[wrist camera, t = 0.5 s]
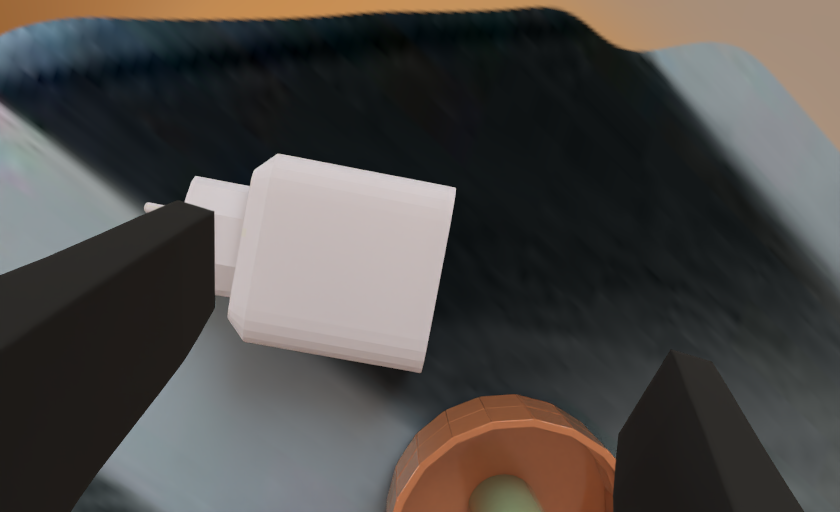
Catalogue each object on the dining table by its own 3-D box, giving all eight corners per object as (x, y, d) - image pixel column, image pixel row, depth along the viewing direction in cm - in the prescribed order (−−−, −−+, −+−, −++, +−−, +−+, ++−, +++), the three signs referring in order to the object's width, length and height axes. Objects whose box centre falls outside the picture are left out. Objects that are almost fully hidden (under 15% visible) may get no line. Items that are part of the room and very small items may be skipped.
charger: (174, 139, 35) (449, 191, 35) (145, 308, 35) (418, 357, 36) (140, 125, 30) (458, 186, 31) (106, 321, 30) (422, 377, 31)
